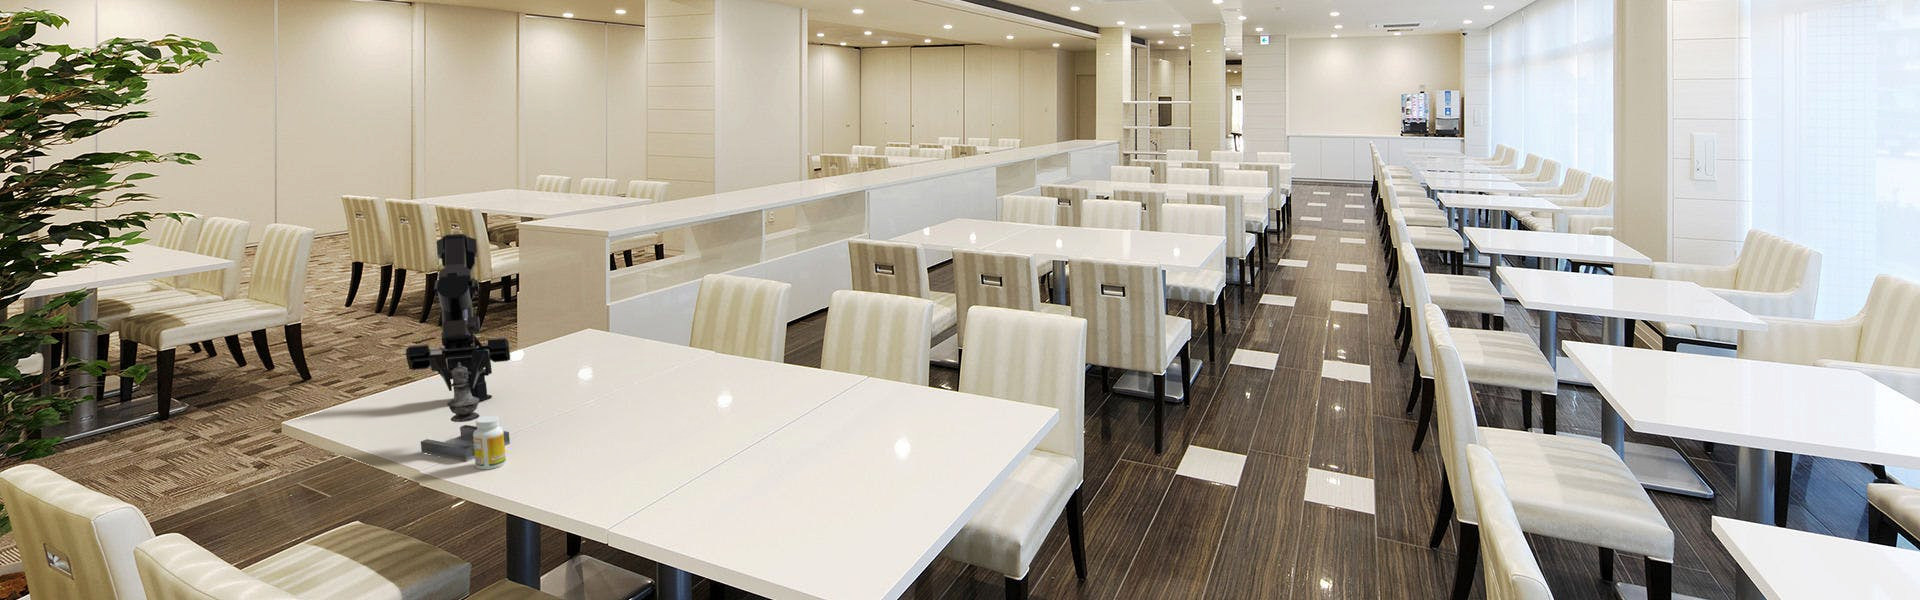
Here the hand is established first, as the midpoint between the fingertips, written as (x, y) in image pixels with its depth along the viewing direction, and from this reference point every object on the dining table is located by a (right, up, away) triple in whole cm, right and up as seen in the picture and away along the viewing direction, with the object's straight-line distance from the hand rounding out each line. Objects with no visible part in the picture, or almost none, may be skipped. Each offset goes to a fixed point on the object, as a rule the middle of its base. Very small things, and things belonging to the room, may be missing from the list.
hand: (461, 388), depth 186 cm
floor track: (-1, -13, +4) cm, 13 cm away
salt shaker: (-1, -6, +3) cm, 7 cm away
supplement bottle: (+9, -15, -5) cm, 18 cm away
